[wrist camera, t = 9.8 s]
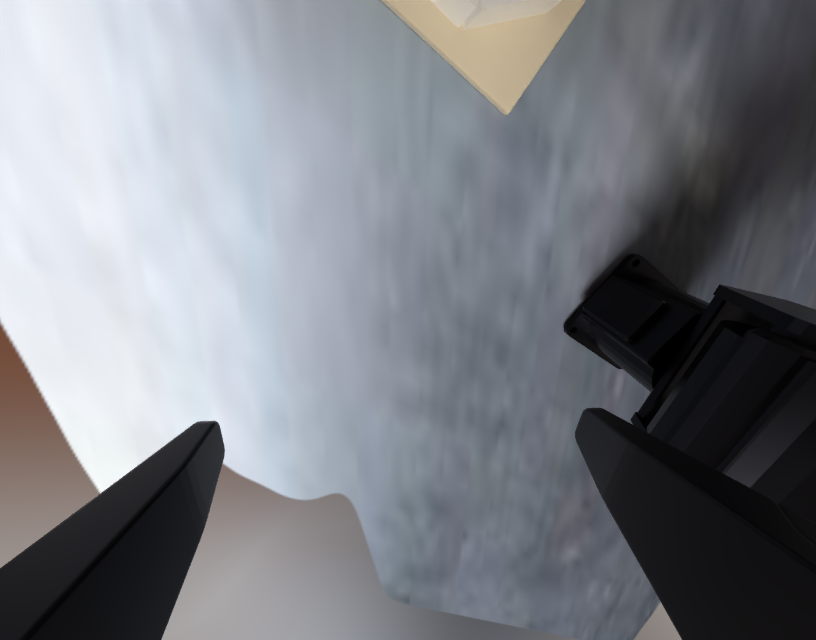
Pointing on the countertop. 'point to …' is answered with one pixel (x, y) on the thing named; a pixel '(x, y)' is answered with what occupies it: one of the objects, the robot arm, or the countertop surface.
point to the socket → (491, 38)
